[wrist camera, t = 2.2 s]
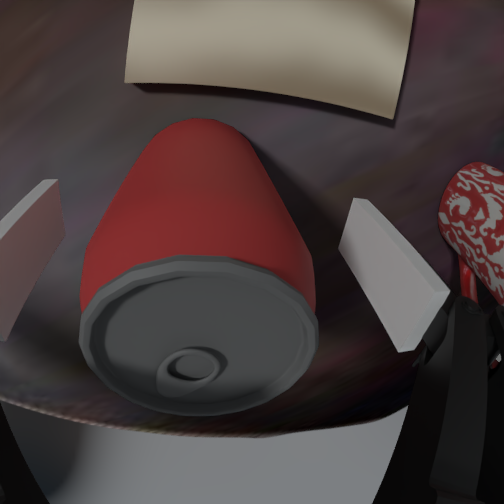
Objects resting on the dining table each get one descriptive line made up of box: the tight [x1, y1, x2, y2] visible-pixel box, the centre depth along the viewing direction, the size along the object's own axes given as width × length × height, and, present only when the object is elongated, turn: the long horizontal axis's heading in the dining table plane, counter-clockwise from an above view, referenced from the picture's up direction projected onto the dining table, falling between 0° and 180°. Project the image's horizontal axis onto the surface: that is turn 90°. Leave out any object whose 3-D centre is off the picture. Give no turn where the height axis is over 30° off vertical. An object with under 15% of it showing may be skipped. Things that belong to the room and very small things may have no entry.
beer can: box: [79, 118, 319, 416], centre depth 12 cm, size 7×7×12 cm
